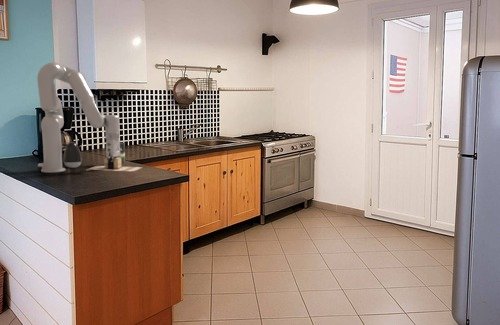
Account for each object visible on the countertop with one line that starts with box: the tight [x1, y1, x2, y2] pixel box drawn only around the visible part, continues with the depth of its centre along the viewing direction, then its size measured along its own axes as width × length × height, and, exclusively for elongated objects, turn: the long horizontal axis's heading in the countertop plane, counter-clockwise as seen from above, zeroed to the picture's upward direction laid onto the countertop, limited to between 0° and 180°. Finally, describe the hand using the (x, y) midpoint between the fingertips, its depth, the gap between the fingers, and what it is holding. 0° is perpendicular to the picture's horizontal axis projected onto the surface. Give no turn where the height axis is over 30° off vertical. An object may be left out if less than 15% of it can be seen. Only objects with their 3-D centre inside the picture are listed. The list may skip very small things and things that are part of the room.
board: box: [85, 165, 144, 172], centre depth 259 cm, size 28×15×1 cm, turn 84°
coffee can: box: [118, 141, 126, 165], centre depth 277 cm, size 10×10×14 cm
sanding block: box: [103, 157, 123, 169], centre depth 258 cm, size 8×5×6 cm, turn 84°
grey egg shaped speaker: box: [62, 141, 83, 169], centre depth 267 cm, size 10×10×15 cm
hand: (112, 167), depth 259 cm, fingers closed on sanding block, 5 cm apart
